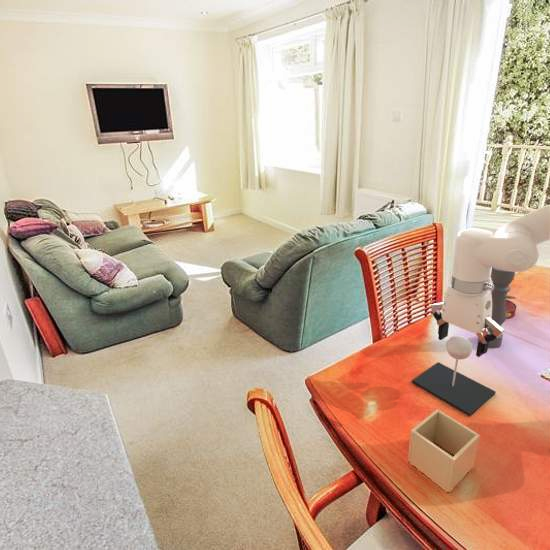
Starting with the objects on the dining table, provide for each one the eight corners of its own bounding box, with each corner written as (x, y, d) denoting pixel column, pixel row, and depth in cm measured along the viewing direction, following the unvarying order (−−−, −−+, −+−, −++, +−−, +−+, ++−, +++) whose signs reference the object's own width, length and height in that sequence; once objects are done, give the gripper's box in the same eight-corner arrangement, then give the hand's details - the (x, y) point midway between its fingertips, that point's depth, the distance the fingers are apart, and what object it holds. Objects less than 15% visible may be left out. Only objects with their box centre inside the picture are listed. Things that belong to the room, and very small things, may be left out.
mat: (495, 393, 95) (495, 391, 95) (469, 416, 89) (470, 414, 88) (437, 364, 107) (438, 361, 107) (411, 382, 101) (412, 380, 101)
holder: (473, 467, 77) (480, 435, 73) (448, 493, 72) (454, 460, 68) (433, 439, 84) (437, 408, 80) (407, 461, 79) (410, 430, 75)
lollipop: (441, 375, 101) (448, 328, 95) (465, 381, 99) (474, 333, 93) (439, 390, 96) (446, 341, 90) (465, 396, 94) (474, 346, 88)
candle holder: (476, 344, 114) (489, 269, 104) (479, 334, 119) (492, 261, 109) (499, 350, 111) (515, 273, 101) (502, 339, 115) (517, 265, 105)
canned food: (483, 325, 131) (471, 300, 131) (494, 311, 137) (483, 287, 136) (517, 323, 122) (505, 296, 121) (527, 308, 128) (516, 282, 127)
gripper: (517, 289, 81) (505, 355, 88) (443, 268, 94) (437, 326, 101) (500, 301, 77) (488, 368, 84) (425, 277, 90) (420, 337, 97)
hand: (461, 345), depth 92 cm, fingers open, 9 cm apart
